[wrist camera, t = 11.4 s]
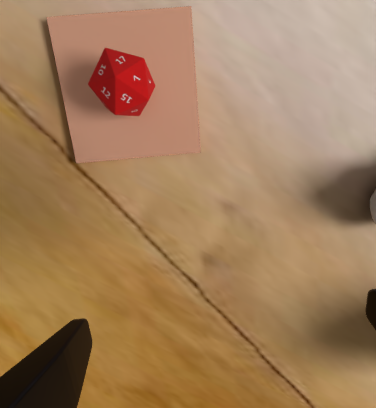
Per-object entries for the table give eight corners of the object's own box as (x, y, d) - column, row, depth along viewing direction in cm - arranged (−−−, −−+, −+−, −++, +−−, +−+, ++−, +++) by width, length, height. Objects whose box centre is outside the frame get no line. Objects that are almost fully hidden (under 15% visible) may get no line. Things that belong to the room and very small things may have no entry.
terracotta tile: (79, 162, 18) (76, 163, 17) (51, 21, 16) (46, 17, 15) (200, 151, 18) (200, 152, 18) (190, 11, 16) (191, 6, 15)
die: (164, 107, 17) (160, 98, 13) (119, 127, 17) (102, 124, 13) (141, 52, 16) (130, 24, 12) (94, 74, 16) (67, 54, 12)
